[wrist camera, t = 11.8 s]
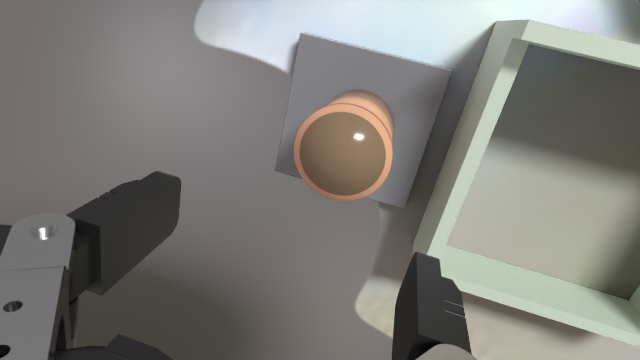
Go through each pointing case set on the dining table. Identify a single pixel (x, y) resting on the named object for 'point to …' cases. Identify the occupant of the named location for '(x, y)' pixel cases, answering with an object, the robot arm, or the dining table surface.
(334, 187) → the terracotta pot
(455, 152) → the pale green open box
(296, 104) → the slate board
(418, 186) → the dining table surface
